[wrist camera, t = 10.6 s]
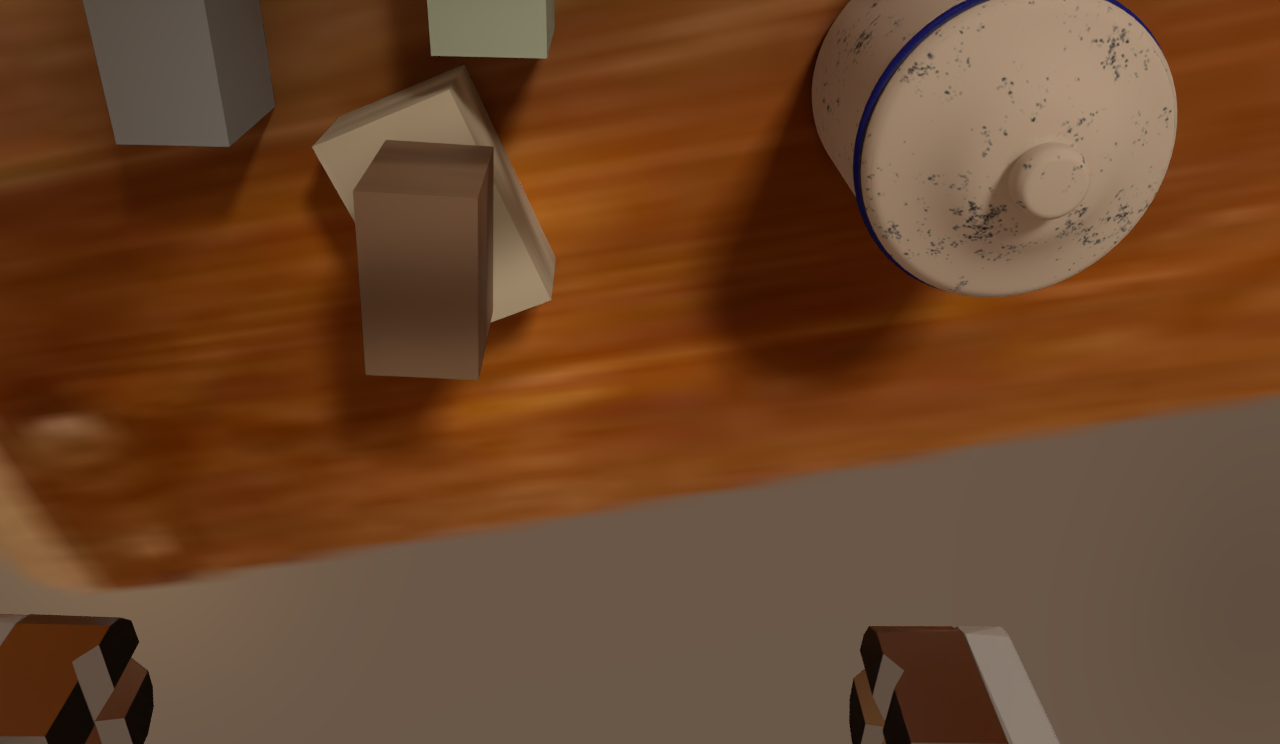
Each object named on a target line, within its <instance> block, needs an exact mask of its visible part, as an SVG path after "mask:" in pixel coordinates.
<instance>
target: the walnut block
mask: <svg viewBox="0 0 1280 744" xmlns="http://www.w3.org/2000/svg"><path fill="white" fill-rule="evenodd" d="M493 200H494V147H492V146H476V145H460V144H444V143H428V142H413V141H397V140H385V142H384V143H383V145H382V147H381V148H380V150H379V151H378V153H377V154H376V156H375V157H374V159H373V161H372V162H371V164H370V165H369V167H368V168H367V170H366V171H365V173H364V174H363V176H362V178H361V179H360V181H359V182H358V184H357V185H356V187H355V188H354V190H353V201H354V215H355V230H356V244H357V258H358V272H359V287H360V301H361V315H362V330H363V344H364V358H365V372H366V375H377V376H399V377H420V378H441V379H463V380H479V376H480V371H481V366H482V361H483V356H484V352H485V347H486V342H487V337H488V333H489V328H490V323H491V318H492V314H493Z"/></svg>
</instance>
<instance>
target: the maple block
mask: <svg viewBox="0 0 1280 744" xmlns="http://www.w3.org/2000/svg"><path fill="white" fill-rule="evenodd" d="M385 140H397V141H413V142H428V143H444V144H460V145H476V146H492V147H494V200H493V314H492V318H491V322H494V321H496V320H499V319H502V318H504V317H507V316H510V315H512V314H515V313H518V312H520V311H523V310H526V309H529V308H531V307H534V306H537V305H539V304H542V303H545V302H547V301H550V300H551V296H552V287H553V279H554V270H555V262H556V258H555V256H554V254H553V252H552V249H551V247H550V245H549V243H548V241H547V239H546V237H545V235H544V232H543V230H542V228H541V226H540V224H539V222H538V220H537V218H536V215H535V213H534V211H533V209H532V207H531V205H530V203H529V201H528V198H527V196H526V194H525V192H524V190H523V188H522V186H521V184H520V181H519V179H518V177H517V175H516V173H515V171H514V169H513V167H512V164H511V162H510V160H509V158H508V156H507V154H506V152H505V150H504V147H503V145H502V143H501V141H500V139H499V137H498V135H497V133H496V131H495V128H494V126H493V124H492V122H491V120H490V118H489V116H488V114H487V111H486V109H485V107H484V105H483V103H482V101H481V99H480V97H479V94H478V92H477V90H476V88H475V86H474V84H473V82H472V80H471V77H470V75H469V73H468V71H467V69H466V67H465V65H464V64H463V65H461V66H459V67H456V68H454V69H451V70H449V71H447V72H444V73H442V74H440V75H437V76H435V77H432V78H430V79H428V80H425V81H423V82H421V83H418V84H416V85H413V86H411V87H409V88H406V89H404V90H401V91H399V92H397V93H394V94H392V95H390V96H387V97H385V98H382V99H380V100H378V101H375V102H373V103H371V104H368V105H366V106H363V107H361V108H359V109H356V110H354V111H352V112H349V113H347V114H344V115H342V116H340V117H338V119H337V120H336V121H335V122H334V123H333V124H332V125H331V126H330V127H329V129H328V130H327V131H326V132H325V133H324V134H323V135H322V136H321V138H320V139H319V140H318V141H317V142H316V143H315V144H314V145H313V146H312V148H313V150H314V152H315V154H316V155H317V157H318V159H319V161H320V162H321V164H322V166H323V168H324V169H325V171H326V173H327V175H328V176H329V178H330V180H331V182H332V183H333V185H334V187H335V189H336V190H337V192H338V194H339V196H340V198H341V199H342V201H343V203H344V205H345V206H346V208H347V210H348V212H349V213H350V215H351V217H352V219H353V220H354V222H355V215H354V201H353V190H354V188H355V187H356V185H357V184H358V182H359V181H360V179H361V178H362V176H363V174H364V173H365V171H366V170H367V168H368V167H369V165H370V164H371V162H372V161H373V159H374V157H375V156H376V154H377V153H378V151H379V150H380V148H381V147H382V145H383V143H384V142H385Z"/></svg>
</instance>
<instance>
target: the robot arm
mask: <svg viewBox="0 0 1280 744" xmlns="http://www.w3.org/2000/svg"><path fill="white" fill-rule="evenodd" d="M138 643H139V640H138V637H137V635H136V632H135V629H134V627H133V624H132V621H131V620H128V619H124V618H116V617H88V616H62V615H33V614H30V615H13V614H0V744H144V742H145V739H146V737H147V735H148V731H149V726H150V722H151V717H152V712H153V707H154V705H153V687H152V683H151V679H150V676H149V672H148V670H146V669H145V668H144V667H142V666H141V665H140V664H139V663H138V662H136V661H135V660H134V659H132V658H131V657H132V655H133V653H134V651H135V649H136V647H137V645H138ZM860 653H861V656H862V660H863V663H864V667H865V669H864V670H862V671H861V672H860V673H859V674H858V675H856V676H855V677H854V678H853V683H852V689H851V694H850V705H849V706H850V707H849V708H850V709H849V710H850V711H849V724H850V732H851V739H852V744H1060V743H1059V741H1058V739H1057V737H1056V734H1055V732H1054V730H1053V728H1052V726H1051V724H1050V722H1049V720H1048V718H1047V715H1046V713H1045V711H1044V709H1043V707H1042V705H1041V703H1040V701H1039V698H1038V696H1037V694H1036V692H1035V690H1034V688H1033V686H1032V684H1031V682H1030V679H1029V677H1028V675H1027V673H1026V671H1025V669H1024V667H1023V665H1022V662H1021V660H1020V658H1019V656H1018V654H1017V652H1016V650H1015V648H1014V645H1013V643H1012V641H1011V639H1010V637H1009V635H1008V633H1006V632H1005V631H1004V630H1003V629H1002V628H1001V627H955V628H954V627H951V626H944V627H943V626H941V627H940V626H939V627H938V626H926V627H925V626H869V627H868V629H867V630H866V632H865V633H864V636H863V640H862V644H861V648H860Z"/></svg>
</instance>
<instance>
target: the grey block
mask: <svg viewBox="0 0 1280 744" xmlns="http://www.w3.org/2000/svg"><path fill="white" fill-rule="evenodd" d="M83 4H84V8H85V13H86V17H87V21H88V26H89V30H90V34H91V38H92V43H93V47H94V51H95V56H96V60H97V64H98V68H99V73H100V77H101V81H102V86H103V90H104V94H105V98H106V103H107V107H108V111H109V116H110V120H111V124H112V128H113V133H114V137H115V141H116V144H123V145H167V146H211V147H230V146H231V145H232V144H233V143H235V142H236V141H237V140H238V139H239V138H240V137H241V136H243V135H244V134H245V133H246V132H247V131H248V130H249V129H250V128H252V127H253V126H254V125H255V124H256V123H257V122H258V121H259V120H261V119H262V118H263V117H264V116H265V115H266V114H267V113H268V112H270V111H271V110H272V109H273V108H274V107H275V101H274V95H273V88H272V81H271V75H270V68H269V61H268V54H267V48H266V41H265V34H264V28H263V21H262V14H261V7H260V1H259V0H83Z"/></svg>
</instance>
